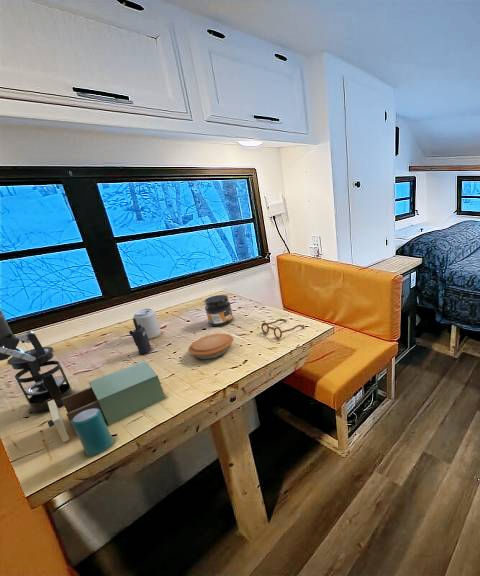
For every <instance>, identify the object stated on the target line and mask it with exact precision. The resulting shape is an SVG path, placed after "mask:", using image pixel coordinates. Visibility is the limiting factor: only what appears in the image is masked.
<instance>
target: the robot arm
mask: <svg viewBox="0 0 480 576" xmlns="http://www.w3.org/2000/svg"><path fill="white" fill-rule="evenodd" d="M21 341H25V342H26V344H30V343H31V345H32V346H33V349H35V350H36V351H34V352H32V353H29V352H26V351H27V350H23V349H22V348H20V347H18V345H19V344H20V342H21ZM43 347H44V346H42V344H41V342H40V341H39V339H38V337H37V335H36V333H35V331H32V330H28V331H26V333H24V334H20V336H19V335H17V336H16V335H14V333H13V332H12V330H11V328H10V326H9V324H8V321H7V319H6V318H5V316H4V312H3V311H2V309H1V308H0V361H5V360H9V359H10V358H11V357H17V358H21V359H24V360H27V362H28V364H29V366H30V368H31V370H32V372H33V374H34V375H37V374H38V372H39V371H40V372H41V371H42V370H41V368H42V367H40V366H39V364H38V362H37V358H38V357H39V356H41V355H44V354H45V351H44V349H43Z"/></svg>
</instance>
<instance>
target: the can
mask: <svg viewBox="0 0 480 576" xmlns="http://www.w3.org/2000/svg"><path fill="white" fill-rule="evenodd" d="M133 314H134V315H133V318H135V319H136V322H137V324H138V325H139V324H140V325H141V326H142V327H144V328H145V331H146V334H147V336H148V339H149V340H152V339H155V338H158V337H159V336H160V335H161V333H162V329H161V326H160V323H159V320H158V317H157V313H156V311H154V310H153V308H143V309H139V310H136V311H135V312H134V313H133ZM133 318H132V319H133Z"/></svg>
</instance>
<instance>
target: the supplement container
mask: <svg viewBox="0 0 480 576" xmlns="http://www.w3.org/2000/svg"><path fill="white" fill-rule="evenodd" d="M204 305H205V307H204V310H205V314H206V317H207V320H208V325H210V326H212V327H222V326H227V325H229V324H230V323H231V322H233V321H234V315H233V310H232V304H231V302H230V301H229V297H228V295H226V294H216V295H212V296H209V297H207V298H205V299H204Z"/></svg>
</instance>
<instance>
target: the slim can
mask: <svg viewBox="0 0 480 576" xmlns="http://www.w3.org/2000/svg"><path fill="white" fill-rule="evenodd" d="M71 423H72V425H73V427H74V429H75V431H74V433H75V432H76V433H75V435H76V436H77V438H78V440H79V442H80V444H81V447H82V448H83V451H84V452H85V454H86V456H89V457H93V456H98V455H99V454H102V453H104V452H106V451H107V450H108V449H109V448H111V446H112V445H113V444H114V439H113V436H112V435H111V431H110V430H109V427H108V424H107V422H106V420H104V418H103V416H102V414H101V411H100V409H97V408H93V409H88V410H85V411H83V412H81V413H79V414H78V415H76V416H75V417H74V418H73V419H72V420H71ZM71 423H70V424H71ZM72 425H71V426H72ZM73 427H72V428H73ZM74 429H73V430H74Z"/></svg>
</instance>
